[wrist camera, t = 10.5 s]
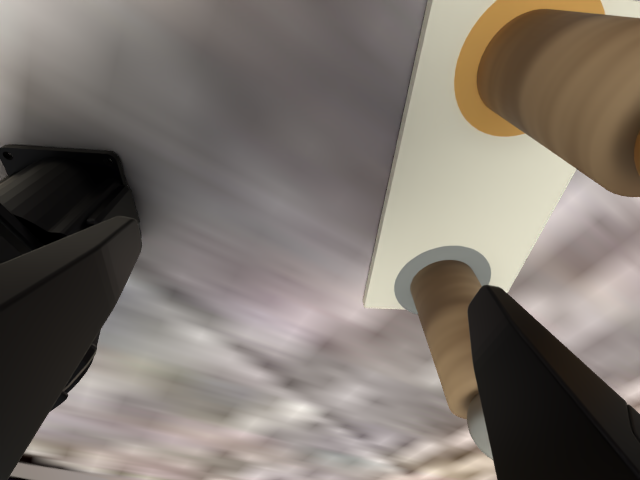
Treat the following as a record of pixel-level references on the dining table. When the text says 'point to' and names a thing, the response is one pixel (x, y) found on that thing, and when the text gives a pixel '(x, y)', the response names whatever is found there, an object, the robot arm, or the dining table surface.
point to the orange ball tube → (571, 89)
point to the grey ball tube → (452, 338)
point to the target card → (465, 159)
